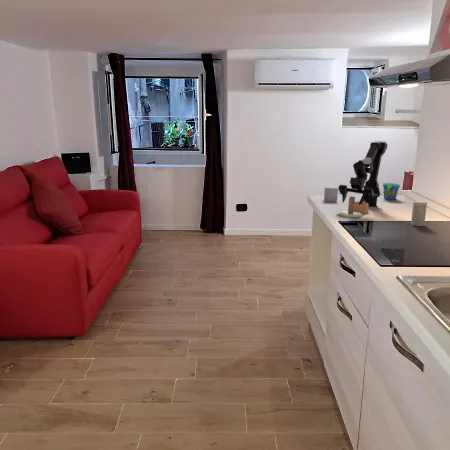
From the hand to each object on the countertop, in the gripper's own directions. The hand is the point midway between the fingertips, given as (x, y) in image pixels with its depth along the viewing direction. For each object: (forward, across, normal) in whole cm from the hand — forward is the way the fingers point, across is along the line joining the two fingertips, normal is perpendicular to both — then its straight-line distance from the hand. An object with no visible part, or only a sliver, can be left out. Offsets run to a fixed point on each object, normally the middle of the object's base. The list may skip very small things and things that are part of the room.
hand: (351, 203), depth 238 cm
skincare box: (+2, +34, +9) cm, 35 cm away
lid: (+4, 0, +5) cm, 7 cm away
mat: (+4, 0, +6) cm, 7 cm away
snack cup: (-42, +3, +52) cm, 67 cm away
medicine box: (-18, -25, +29) cm, 42 cm away
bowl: (-5, 0, +15) cm, 16 cm away
